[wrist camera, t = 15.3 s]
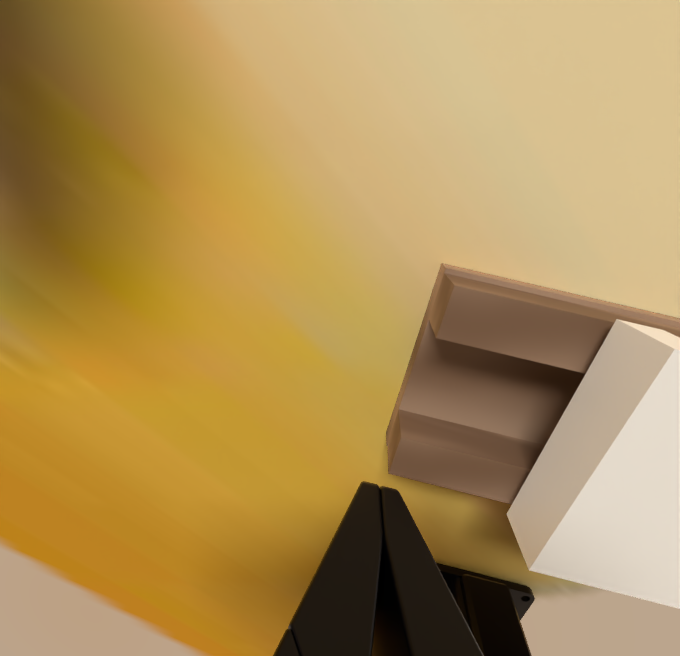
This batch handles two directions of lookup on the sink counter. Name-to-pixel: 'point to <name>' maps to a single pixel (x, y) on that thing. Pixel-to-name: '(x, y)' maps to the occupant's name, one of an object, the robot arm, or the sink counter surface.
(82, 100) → the sink counter surface
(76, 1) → the sink counter surface
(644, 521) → the sliding cap
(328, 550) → the robot arm
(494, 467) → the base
